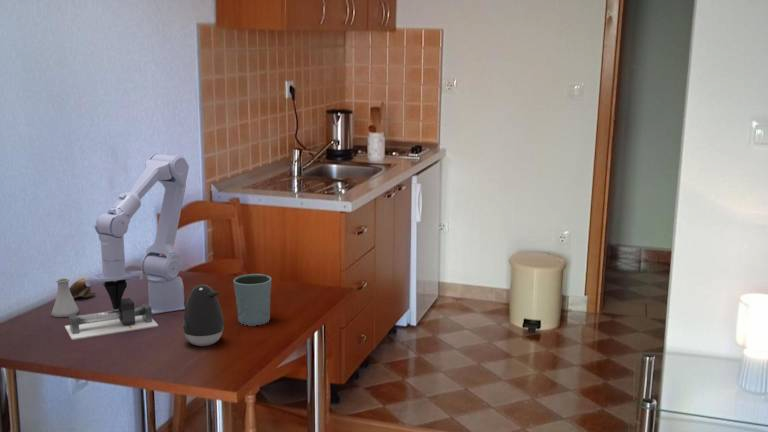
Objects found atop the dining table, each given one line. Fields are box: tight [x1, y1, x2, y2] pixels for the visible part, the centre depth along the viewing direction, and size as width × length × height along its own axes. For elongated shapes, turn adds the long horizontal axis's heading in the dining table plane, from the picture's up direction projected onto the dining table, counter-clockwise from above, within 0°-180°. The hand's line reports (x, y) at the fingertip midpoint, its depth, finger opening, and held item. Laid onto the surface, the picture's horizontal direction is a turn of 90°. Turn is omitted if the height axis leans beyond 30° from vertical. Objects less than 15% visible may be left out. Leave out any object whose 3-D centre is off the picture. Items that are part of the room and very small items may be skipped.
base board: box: [64, 316, 159, 341], centre depth 222 cm, size 22×11×1 cm, turn 120°
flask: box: [50, 277, 80, 318], centre depth 231 cm, size 7×7×10 cm
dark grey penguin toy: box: [182, 284, 225, 347], centre depth 210 cm, size 10×10×15 cm
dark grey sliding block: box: [118, 297, 135, 325], centre depth 224 cm, size 3×5×6 cm, turn 30°
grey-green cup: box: [232, 273, 272, 327], centre depth 227 cm, size 10×10×12 cm
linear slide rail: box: [68, 303, 153, 334], centre depth 222 cm, size 20×4×4 cm, turn 120°
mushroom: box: [69, 278, 96, 299], centre depth 247 cm, size 8×8×6 cm
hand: (116, 308), depth 222 cm, fingers closed
